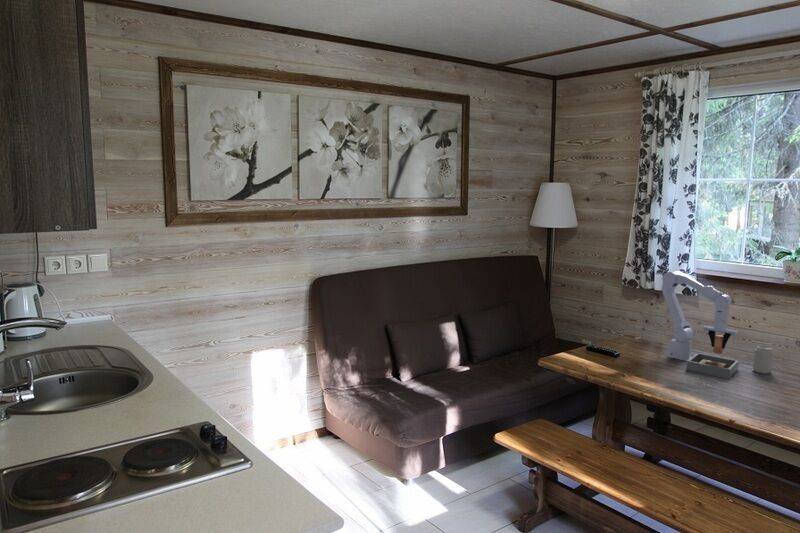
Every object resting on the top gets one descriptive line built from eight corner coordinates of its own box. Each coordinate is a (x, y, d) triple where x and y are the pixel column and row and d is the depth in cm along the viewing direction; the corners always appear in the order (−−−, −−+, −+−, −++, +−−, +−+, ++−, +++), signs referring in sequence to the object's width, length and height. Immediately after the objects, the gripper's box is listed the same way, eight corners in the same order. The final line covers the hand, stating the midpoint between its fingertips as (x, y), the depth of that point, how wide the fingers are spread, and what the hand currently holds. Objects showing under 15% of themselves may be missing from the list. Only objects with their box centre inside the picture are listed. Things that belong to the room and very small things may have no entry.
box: (686, 370, 278) (687, 360, 277) (696, 361, 291) (697, 352, 291) (729, 379, 266) (730, 369, 266) (737, 369, 280) (738, 360, 279)
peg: (712, 352, 283) (713, 336, 282) (714, 350, 286) (715, 334, 285) (721, 354, 281) (723, 337, 280) (723, 352, 284) (725, 336, 283)
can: (766, 369, 281) (768, 345, 279) (774, 374, 274) (777, 349, 272) (749, 368, 282) (752, 344, 280) (757, 373, 275) (760, 348, 273)
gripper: (702, 318, 283) (699, 346, 285) (736, 323, 273) (733, 352, 275) (705, 316, 288) (703, 343, 290) (739, 321, 279) (736, 349, 281)
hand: (718, 347), depth 283 cm, fingers closed on peg, 4 cm apart
